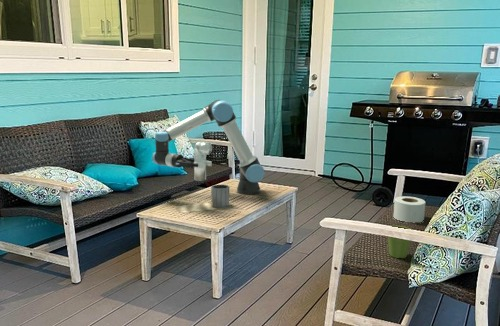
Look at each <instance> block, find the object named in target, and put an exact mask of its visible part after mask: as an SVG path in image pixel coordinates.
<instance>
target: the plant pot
mask: <svg viewBox="0 0 500 326" xmlns="http://www.w3.org/2000/svg"><path fill="white" fill-rule="evenodd" d="M391 226H392V227H398V228H404V229H411V230H413V229H412V228H409V227H407V226H404V225H403V226H402V225H391ZM411 242H412V240H411V241H407V240H402V239H397V238H392V237H388V236H387V244H388V245H387V246H388V254H389V256H390V257H393V258H395V259H406V258H407V257H408V253H409V249H410V246H411Z"/></svg>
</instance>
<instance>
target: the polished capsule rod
mask: <svg viewBox="0 0 500 326" xmlns="http://www.w3.org/2000/svg"><path fill="white" fill-rule="evenodd" d="M193 151H194V152H193V153H194V154H193V158H194V162H197V163H204V168H203V169H202V168H196V167H193V169H194V172H193V173H194V174H193V176H194V181H196V182H204V181H205V182H206V180H207V166H206V161H207V155H208V156H209V155H211V153H212V152H213V145H212V143H211V142H203V141H197V142H196V143H195V144H194V148H193Z"/></svg>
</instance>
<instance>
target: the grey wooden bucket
mask: <svg viewBox="0 0 500 326" xmlns="http://www.w3.org/2000/svg"><path fill="white" fill-rule="evenodd" d="M210 193H211V194H210V196H211V197H210V198H211V201H210V203H211V206H212V207H215V208H221V209H227V208H226V207H229V205H230V186H229V185H227V184H215V185H212V186H211V188H210Z"/></svg>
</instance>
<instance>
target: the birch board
mask: <svg viewBox="0 0 500 326" xmlns="http://www.w3.org/2000/svg"><path fill="white" fill-rule="evenodd" d="M173 207H174V209H175V210H177V212H178V213H179V214H184V213H185V214H186V213H193V212H194V213H195V212H202V211H212V210H219V209H220V210H221V209H222V208H215V207H212V206H211V202H204V203H193V204H186V205H175V206H173ZM230 208H232V206H231V205H230V204H229V207H226V208H225V209H230Z"/></svg>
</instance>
